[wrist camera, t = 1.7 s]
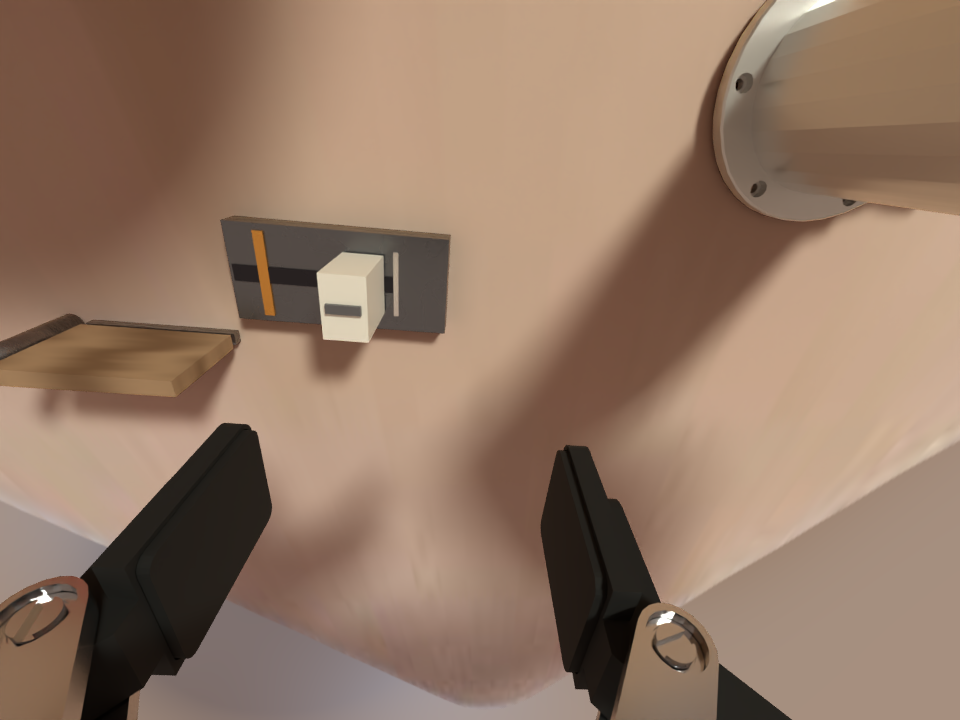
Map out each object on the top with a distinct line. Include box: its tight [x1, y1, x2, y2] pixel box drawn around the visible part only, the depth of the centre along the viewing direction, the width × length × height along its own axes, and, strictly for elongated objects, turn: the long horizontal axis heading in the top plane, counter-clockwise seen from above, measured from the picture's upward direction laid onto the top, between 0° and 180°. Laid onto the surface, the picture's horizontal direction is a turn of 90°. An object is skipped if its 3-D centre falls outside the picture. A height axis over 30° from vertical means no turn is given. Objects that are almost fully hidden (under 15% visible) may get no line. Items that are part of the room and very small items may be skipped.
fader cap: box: [317, 252, 385, 343], centre depth 23 cm, size 2×4×5 cm, turn 175°
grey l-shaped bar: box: [0, 314, 241, 360], centre depth 25 cm, size 12×1×8 cm, turn 85°
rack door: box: [0, 324, 234, 397], centre depth 24 cm, size 10×1×6 cm, turn 85°
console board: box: [221, 216, 451, 333], centre depth 26 cm, size 13×6×2 cm, turn 85°
